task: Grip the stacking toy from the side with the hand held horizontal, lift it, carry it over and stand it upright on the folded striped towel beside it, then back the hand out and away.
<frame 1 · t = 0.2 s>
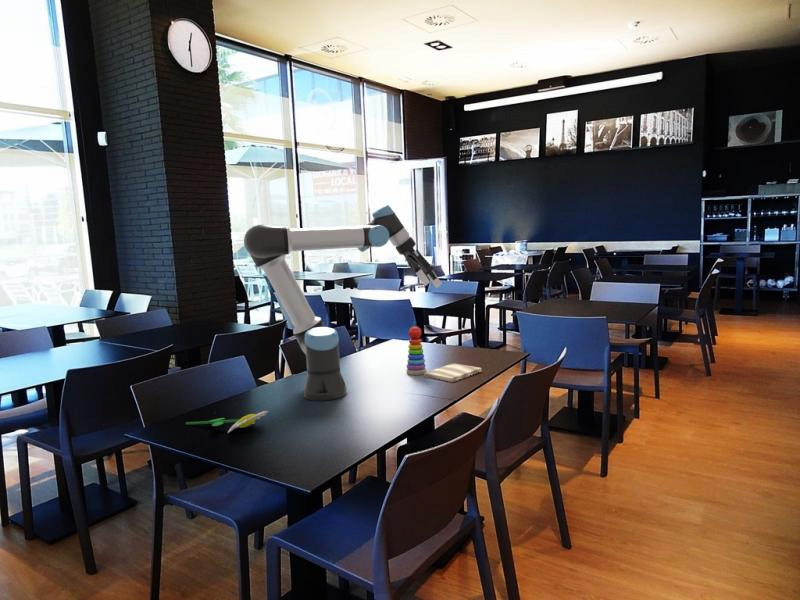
hand: (433, 285, 218), 35 cm above the table, tool tilted 35°, fingers open, 13 cm apart
folded striped towel: (453, 374, 216), on the table
decorative flower: (224, 429, 168), on the table
stacking toy: (416, 373, 220), on the table
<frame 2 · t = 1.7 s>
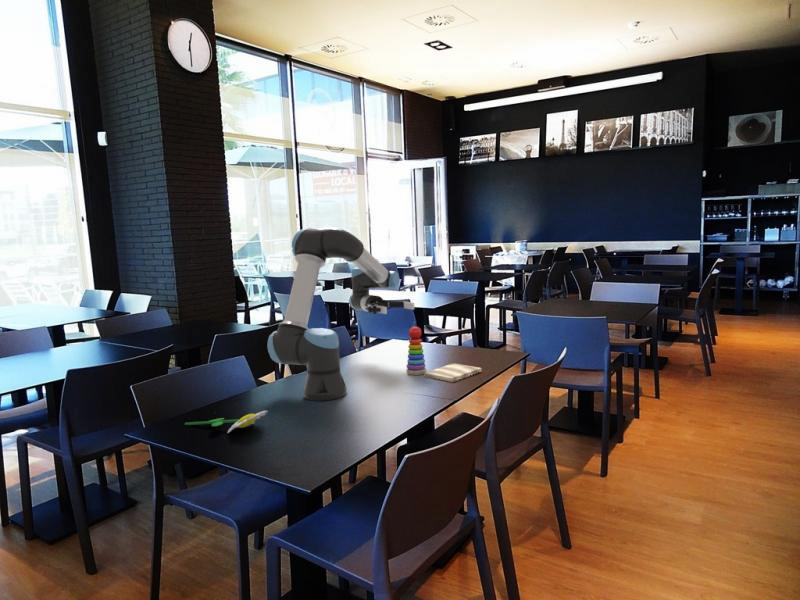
hand: (400, 308, 224), 25 cm above the table, tool horizontal, fingers open, 13 cm apart
nothing on the table moved.
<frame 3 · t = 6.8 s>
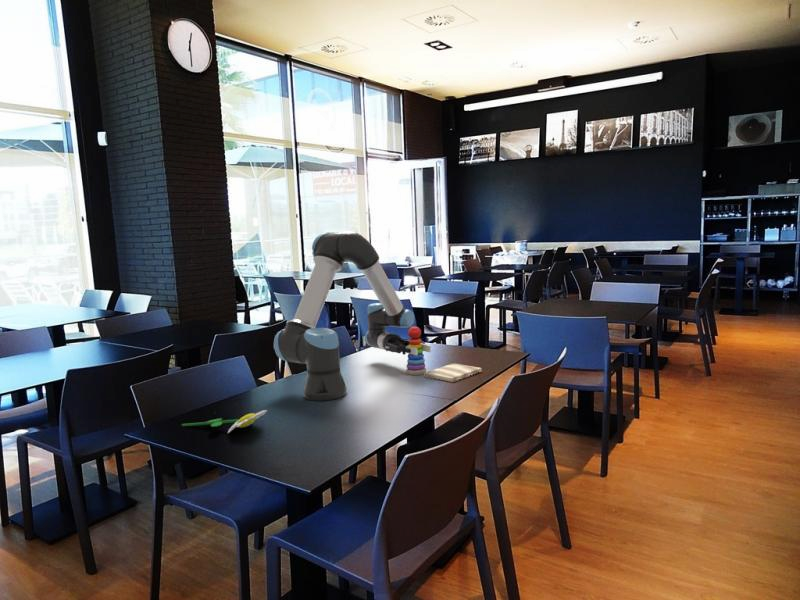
hand: (423, 350, 215), 10 cm above the table, tool horizontal, fingers closed on stacking toy, 6 cm apart
stacking toy: (416, 373, 220), on the table, touching gripper
when the fingers open (13 cm above the table, at t = 10.9 s): stacking toy drops 1 cm, resting on folded striped towel.
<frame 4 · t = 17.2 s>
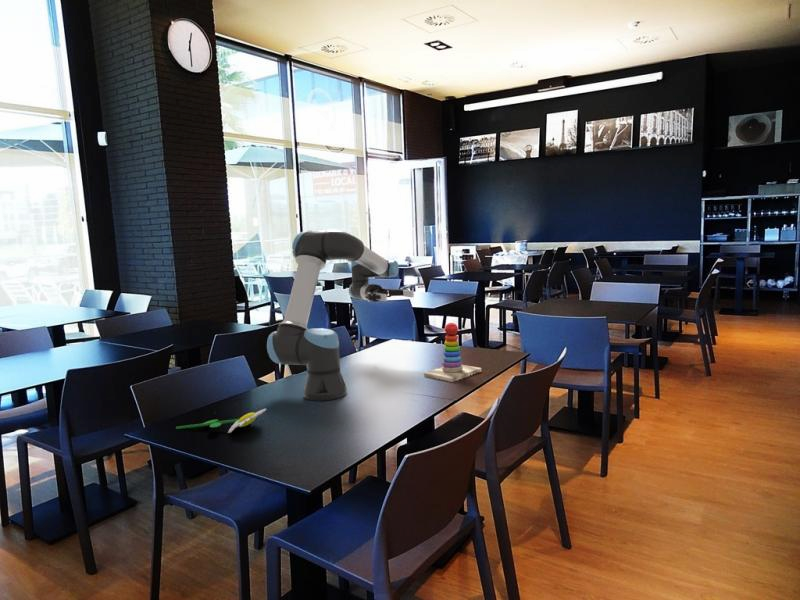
hand: (399, 295, 228), 30 cm above the table, tool horizontal, fingers open, 13 cm apart
stacking toy: (452, 370, 216), point 1 cm above the table, touching folded striped towel
at the end: stacking toy inside the target area on the folded striped towel (0.2 cm from its centre), point 1.3 cm above the folded striped towel's base; stacking toy tilted 0°; the gripper is holding nothing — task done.
